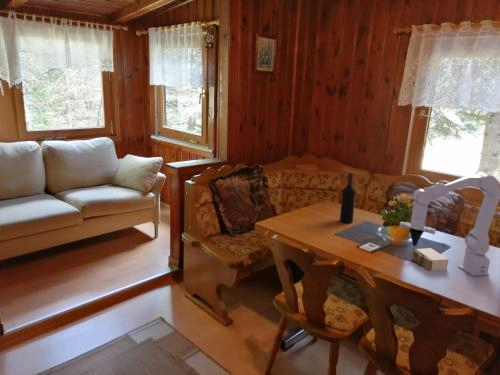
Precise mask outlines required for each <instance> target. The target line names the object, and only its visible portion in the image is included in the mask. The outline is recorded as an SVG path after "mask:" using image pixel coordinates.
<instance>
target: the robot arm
mask: <svg viewBox="0 0 500 375" xmlns="http://www.w3.org/2000/svg"><path fill="white" fill-rule="evenodd" d="M467 187H471V188H472V187H473V188H477V189H480V191H481V192H482V193H483V195H484V196H483V200H482V202H481V205H480V208H479V212H478V215H477V217H476V221H475V224H474V226H473V228H472V229H470V231H469V233H468V234H467V235H466V236H465V238H464V243H465V245H466V247H465V253H464V256H463V257H464V258H463V262H462V264H458V265H457V267H458V268H460V269H461V270H463V271H464V272H466V273H468V274H469V275H471V276H473V277H477V276H489V275H490V273H489V267H490V263H491V262H490V258H488V257H487V256H486V253H488V252H489V250H490V245H489V243H490V237H489V230H490V228H491V224H492V221H493V219H494V215H495V214H496V210H497V207H498V205H499V202H500V181H499V180H498V179H497V178H496V177H495V176H494V175H492V174H491V175H490V174H489V173H486V172H485V171H482V170H481V171H480V170H479V171H475V172H472V173H469V174H468V175H465V176H463V177H460V178H457V179H455V180H453V181H451V182H448V183H446V184H445V183H443V182H436V183H435V184H434V185H431V186H429V187H427V186H426V187H423V188H418V189H416V190H415V191H414V192H413V194H412V198H413V205H412V213H411V220H410V222H408V221H406V222H405V221H400V222H399V228H406V229H409V230H408V231H409V232H408V233H409V235H410V236H411V241H412V242H411V243H412V246H414V247H417V245H418V243H419V240H420V239H421V237H422V235H423V234H424V232H425V233H428V234H431V235H435V234H436V231H437V229H436V228H434V227H433V228H432V227H430V226H427V225H426V221H427V220H426V219H427V214H428V206H429V205H428V204H430V203H431V201H434V200H437V199H440V198H443V197H446V196H447V195H448V193H450V192H453V191H455V190H459V189H462V188H467Z"/></svg>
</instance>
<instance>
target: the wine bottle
mask: <svg viewBox="0 0 500 375" xmlns="http://www.w3.org/2000/svg"><path fill="white" fill-rule="evenodd" d="M353 180H354V173H353V172H348V173H347V185H346V186H345V187H344V188H343V189H342V193H341V202H340V203H341V205H340V216H339V222H340V223H342V224H346V225H347V224H349V225H351V224H353V222H354V213H355V212H354V210H355V203H356V202H355V200H356V189H355V188H354V187H353Z"/></svg>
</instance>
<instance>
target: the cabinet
mask: <svg viewBox="0 0 500 375" xmlns="http://www.w3.org/2000/svg"><path fill="white" fill-rule="evenodd" d="M415 250H416V251H418V252H419V253H420V254H421V255H422V256H423V259H421V261H422V265H421V266H422V267H423V268H424V269H426V270H427V271H445V270H448V264H449V258H448V257H446V256H444V255H443V254H441V253H439V252H438V251H436V250H434V249H433V248H432V247H427V248H415Z"/></svg>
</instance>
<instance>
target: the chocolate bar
mask: <svg viewBox="0 0 500 375" xmlns="http://www.w3.org/2000/svg"><path fill="white" fill-rule="evenodd" d="M391 244H392V245H393V243H392V242H390V241H386V240H384V239H380V238H379V237H376V238H372V239H371V240H368V241H366V242H363V243H360V244H358V245H356V248H359V249H361V250H363V251H366V252H368V251H369V253H371V254H373V253H376V252H378V251H380V249H381V250H383V249H384V247H385V248H387V247H389V246H391ZM382 248H383V249H382Z"/></svg>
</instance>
